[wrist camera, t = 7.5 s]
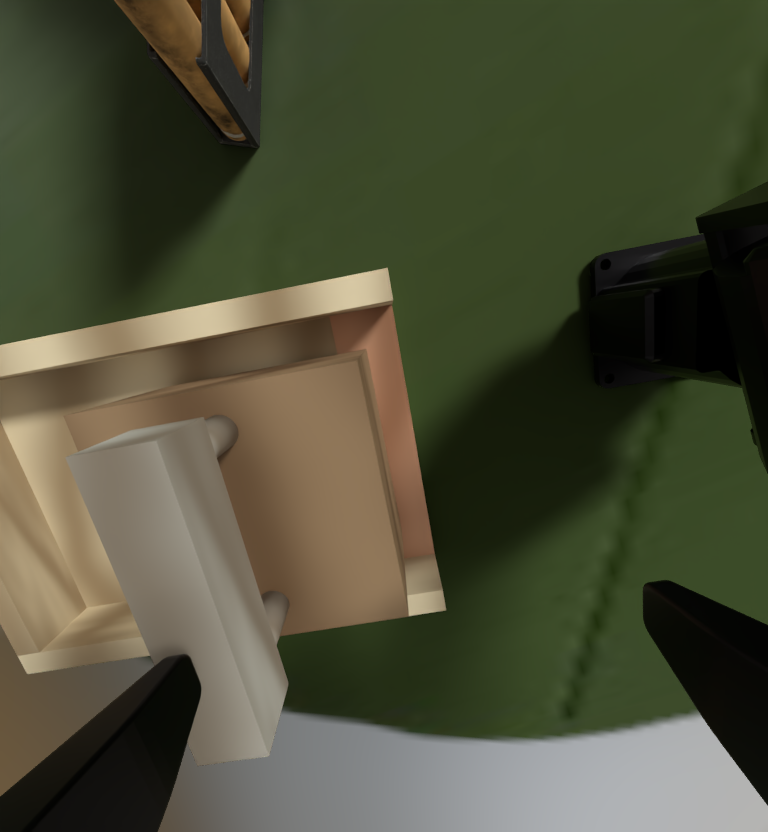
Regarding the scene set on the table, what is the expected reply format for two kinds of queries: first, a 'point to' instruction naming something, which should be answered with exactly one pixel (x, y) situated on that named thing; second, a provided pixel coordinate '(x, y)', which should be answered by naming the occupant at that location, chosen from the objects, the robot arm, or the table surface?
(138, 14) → the ammunition clip
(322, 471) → the panel with bar handle
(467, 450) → the table surface
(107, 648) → the bay
